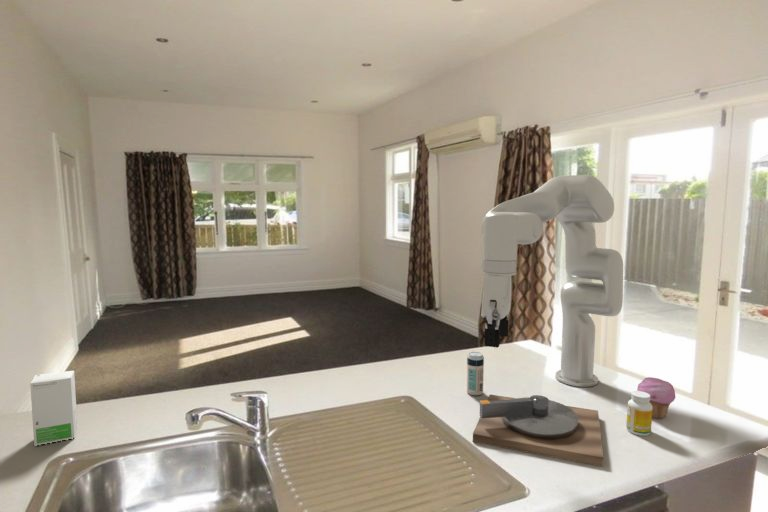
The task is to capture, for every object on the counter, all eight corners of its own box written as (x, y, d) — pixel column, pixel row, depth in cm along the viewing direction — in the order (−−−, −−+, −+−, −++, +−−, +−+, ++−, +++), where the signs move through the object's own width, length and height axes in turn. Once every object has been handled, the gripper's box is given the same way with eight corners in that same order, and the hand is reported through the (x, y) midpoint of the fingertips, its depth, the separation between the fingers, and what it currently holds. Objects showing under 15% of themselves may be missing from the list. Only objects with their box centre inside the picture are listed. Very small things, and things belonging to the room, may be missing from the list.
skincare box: (33, 447, 108) (27, 383, 106) (39, 435, 114) (33, 374, 112) (76, 438, 112) (70, 377, 110) (79, 427, 118) (74, 368, 116)
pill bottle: (482, 390, 139) (482, 351, 138) (484, 396, 134) (484, 357, 133) (466, 389, 140) (466, 351, 138) (467, 396, 135) (467, 356, 133)
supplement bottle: (621, 428, 115) (623, 391, 114) (635, 424, 117) (637, 388, 116) (641, 438, 110) (643, 400, 109) (655, 433, 113) (658, 396, 111)
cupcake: (635, 405, 128) (637, 370, 127) (672, 412, 124) (675, 376, 123) (635, 418, 120) (638, 382, 119) (675, 426, 116) (677, 388, 115)
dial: (554, 402, 125) (555, 382, 124) (593, 435, 107) (594, 411, 106) (469, 408, 122) (469, 387, 121) (494, 443, 104) (494, 419, 103)
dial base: (489, 401, 131) (489, 393, 131) (597, 417, 121) (598, 409, 121) (472, 441, 109) (472, 433, 109) (602, 466, 99) (603, 456, 99)
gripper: (491, 262, 114) (489, 330, 116) (472, 270, 99) (470, 348, 100) (522, 264, 111) (519, 334, 113) (508, 273, 95) (505, 353, 97)
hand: (496, 340), depth 106 cm, fingers open, 9 cm apart
